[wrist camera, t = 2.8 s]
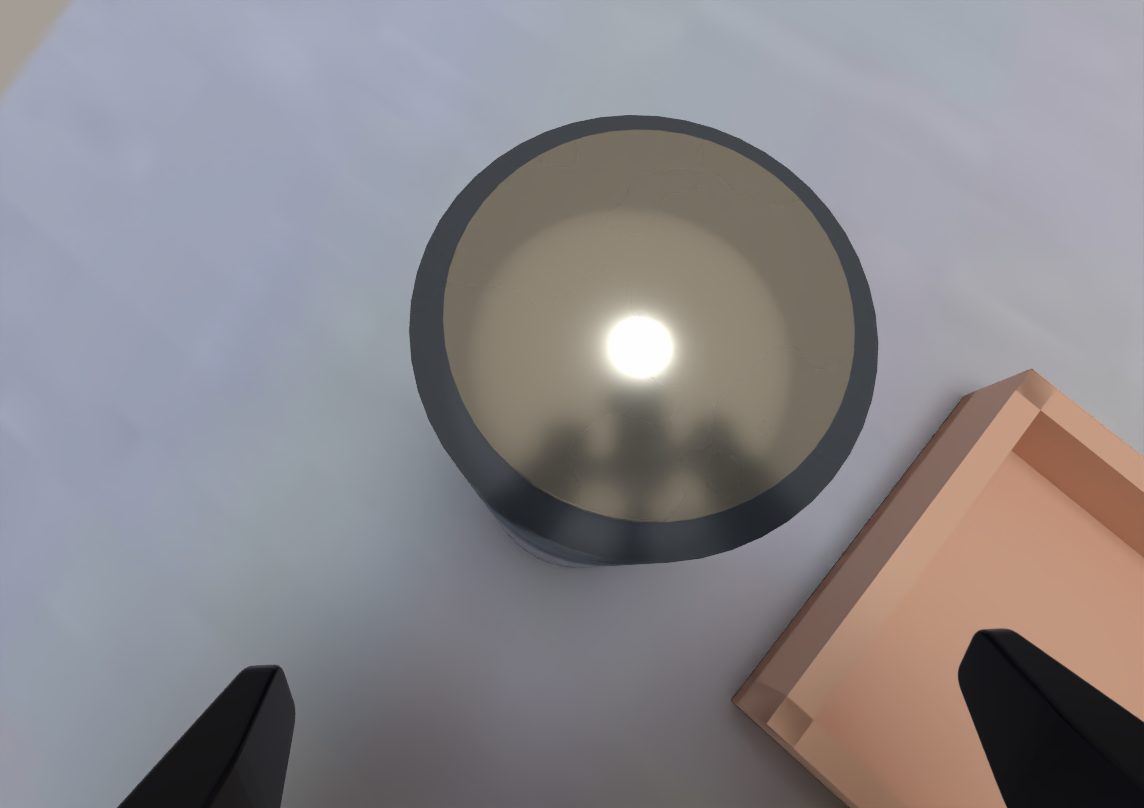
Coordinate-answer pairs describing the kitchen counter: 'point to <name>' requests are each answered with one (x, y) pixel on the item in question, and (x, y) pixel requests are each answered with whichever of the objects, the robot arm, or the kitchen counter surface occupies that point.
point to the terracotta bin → (963, 599)
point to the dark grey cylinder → (642, 341)
